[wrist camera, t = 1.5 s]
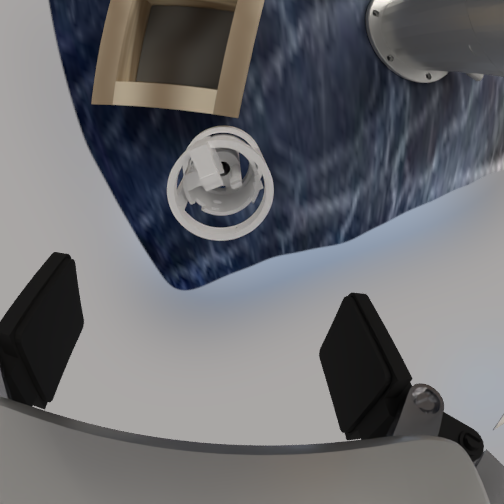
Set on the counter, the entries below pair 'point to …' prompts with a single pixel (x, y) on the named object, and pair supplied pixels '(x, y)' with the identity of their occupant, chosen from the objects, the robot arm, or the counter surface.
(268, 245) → the counter surface
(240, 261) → the counter surface
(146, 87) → the beech holder block
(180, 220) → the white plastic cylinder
